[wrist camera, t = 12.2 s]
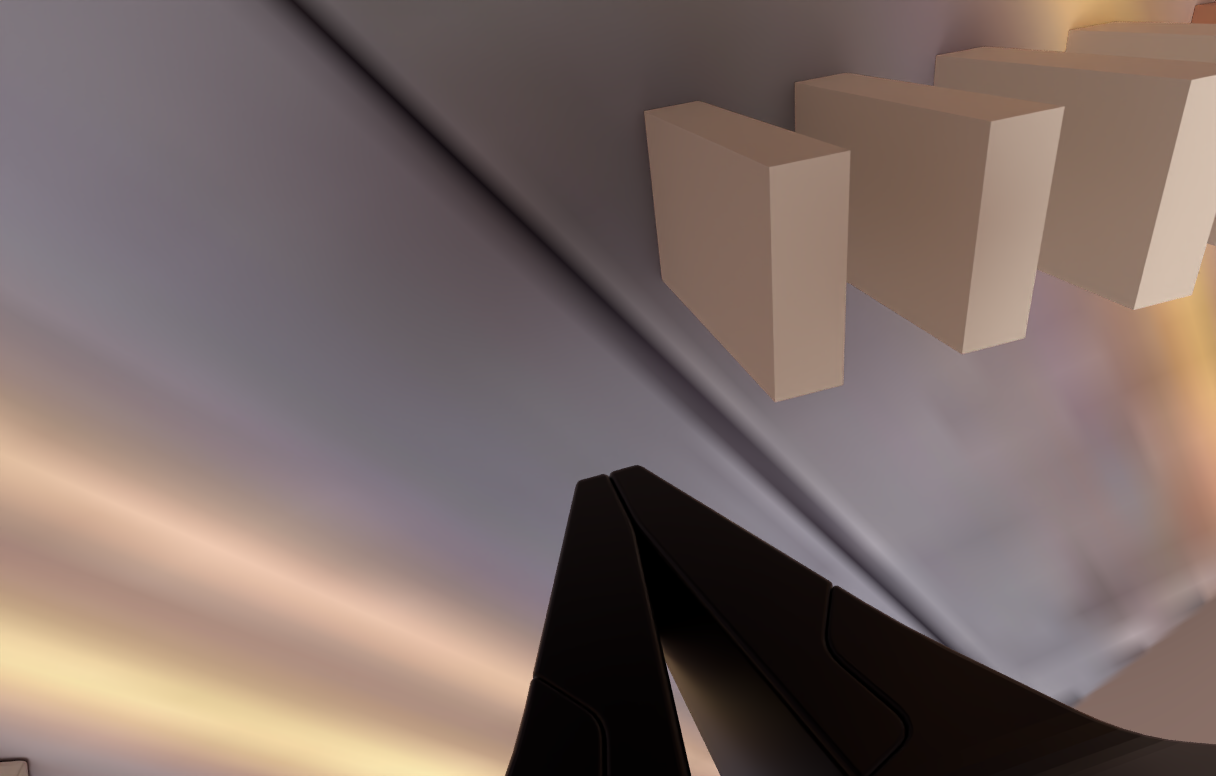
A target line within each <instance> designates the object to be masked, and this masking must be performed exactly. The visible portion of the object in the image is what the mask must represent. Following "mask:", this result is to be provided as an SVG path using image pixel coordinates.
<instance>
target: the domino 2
mask: <svg viewBox="0 0 1216 776" xmlns="http://www.w3.org/2000/svg"><path fill="white" fill-rule="evenodd" d="M1064 108H1065V106H1060V105H1053V104H1047V103H1040V102H1034V101H1027V100H1021V99H1014V98H1008V97H1001V96H995V95H988V94H982V93H975V92H969V91H962V90H956V89H949V88H943V87H936V86H930V85H923V84H917V83H910V82H904V81H897V80H891V79H884V78H878V77H871V76H865V75H858V74H852V73H841V74H836V75H831V76H826V77H820V78H815V79H810V80H805V81H799V82H795V132H796V133H799V134H802V135H805V136H808V137H811V138H814V139H817V140H820V141H823V142H826V143H829V144H832V145H835V146H838V147H842V148H845V149H848V150H851V151H850V183H849V215H848V247H847V279H846V282H848V283H850V284H851V285H853V286H854V287H856V288H857V289H859V290H861V291H862V292H864V293H865V294H867V295H869V296H870V297H872V298H873V299H875V300H877V301H878V302H880V303H881V304H883V305H884V306H886V307H888V308H889V309H891V310H892V311H894V312H896V313H897V314H899V315H900V316H902V317H904V318H905V319H907V320H908V321H910V322H911V323H913V324H915V325H916V326H918V327H919V328H921V329H923V330H924V331H926V332H927V333H929V334H931V335H932V336H934V337H935V338H937V339H939V340H940V341H942V342H943V343H945V344H946V345H948V346H950V347H951V348H953V349H954V350H956V351H958V352H959V353H961V354H965V353H969V352H973V351H977V350H981V349H985V348H988V347H992V346H996V345H1000V344H1004V343H1008V342H1012V341H1016V340H1019V339H1023V338H1025V334H1026V328H1027V322H1028V317H1029V311H1030V305H1031V299H1032V293H1033V288H1034V282H1035V276H1036V270H1037V264H1038V259H1039V253H1040V247H1041V241H1042V235H1043V230H1044V224H1045V218H1046V212H1047V206H1048V201H1049V195H1050V189H1051V183H1052V177H1053V172H1054V166H1055V160H1056V154H1057V148H1058V143H1059V137H1060V131H1061V125H1062V119H1063V114H1064Z"/></svg>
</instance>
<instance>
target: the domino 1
mask: <svg viewBox="0 0 1216 776" xmlns="http://www.w3.org/2000/svg"><path fill="white" fill-rule="evenodd" d="M644 117H645V126H646V135H647V145H648V154H649V163H650V173H651V182H652V191H653V201H654V210H655V220H656V229H657V238H658V248H659V257H660V266H661V276H662V280H663V282H664V283H665V284H666V285H667V286H668V287H669V288H670V289H671V290H672V291H673V292H674V293H675V295H676V296H677V297H678V298H679V299H680V300H681V301H682V302H683V303H684V304H685V305H686V306H687V308H688V309H689V310H690V311H691V312H692V313H693V314H694V315H695V316H696V317H697V318H698V319H699V321H700V322H701V323H702V324H703V325H704V326H705V327H706V328H707V329H708V330H709V331H710V332H711V334H712V335H713V336H714V337H715V338H716V339H717V340H718V341H719V342H720V343H721V344H722V345H723V347H724V348H725V349H726V350H727V351H728V352H729V353H730V354H731V355H732V356H733V357H734V358H735V360H736V361H737V362H738V363H739V364H740V365H741V366H742V367H743V368H744V369H745V370H746V371H747V373H748V374H749V375H750V376H751V377H752V378H753V379H754V380H755V381H756V382H757V383H758V384H759V386H760V387H761V388H762V389H763V390H764V391H765V392H766V393H767V394H768V395H769V396H770V397H771V399H772V400H773V401H774V402H779V401H782V400H786V399H790V398H794V397H798V396H802V395H806V394H810V393H814V392H817V391H821V390H825V389H829V388H833V387H837V386H841V385H843V375H844V343H845V311H846V279H847V247H848V215H849V183H850V151H851V150H848V149H845V148H842V147H838V146H835V145H832V144H829V143H826V142H823V141H820V140H817V139H814V138H811V137H808V136H805V135H802V134H799V133H796V132H793V131H790V130H787V129H784V128H781V127H777V126H774V125H771V124H768V123H765V122H762V121H759V120H756V119H753V118H750V117H747V116H744V115H741V114H738V113H735V112H732V111H729V110H726V109H723V108H720V107H716V106H713V105H710V104H707V103H704V102H701V101H694V102H689V103H684V104H678V105H673V106H668V107H662V108H657V109H652V110H647V111H644Z"/></svg>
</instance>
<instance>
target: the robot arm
mask: <svg viewBox="0 0 1216 776" xmlns="http://www.w3.org/2000/svg"><path fill="white" fill-rule="evenodd" d="M665 661H666V662H665ZM666 663H667V666H668V668H669V670H670V672H671V674H672V676H673V678H674V680H675V682H676V684H677V686H678V688H679V690H680V693H681V695H682V697H683V699H684V701H685V703H686V705H687V707H688V709H689V711H690V713H691V715H692V717H693V719H694V722H695V724H696V726H697V728H698V730H699V732H700V734H701V736H702V738H703V740H704V742H705V744H706V746H707V749H708V751H709V753H710V755H711V757H712V759H713V761H714V763H715V765H716V767H717V769H718V771H719V773H720V775H721V776H1216V744H1205V743H1193V742H1183V741H1174V740H1167V739H1162V738H1157V737H1152V736H1147V735H1143V734H1140V733H1137V732H1133V731H1129V730H1126V729H1123V728H1120V727H1117V726H1114V725H1111V724H1109V723H1106V722H1103V721H1101V720H1098V719H1096V718H1094V717H1091V716H1089V715H1087V714H1085V713H1082V712H1080V711H1078V710H1076V709H1074V708H1072V707H1070V706H1067V705H1065V704H1063V703H1061V702H1059V701H1057V700H1055V699H1053V698H1051V697H1049V696H1047V695H1045V694H1043V693H1041V692H1039V691H1037V690H1035V689H1032V688H1030V687H1028V686H1026V685H1024V684H1022V683H1020V682H1018V681H1016V680H1014V679H1012V678H1010V677H1008V676H1006V675H1004V674H1002V673H1000V672H997V671H995V670H993V669H991V668H989V667H987V666H985V665H983V664H981V663H979V662H977V661H975V660H973V659H971V658H969V657H967V656H965V655H962V654H960V653H958V652H956V651H954V650H952V649H950V648H948V647H946V646H944V645H942V644H941V643H939V642H937V641H935V640H933V639H931V638H929V637H927V636H925V635H923V634H921V633H919V632H917V631H915V630H913V629H911V628H909V627H907V626H905V625H904V624H902V623H900V622H898V621H897V620H895V619H893V618H891V617H890V616H888V615H886V614H884V613H883V612H881V611H879V610H878V609H876V608H874V607H872V606H871V605H869V604H867V603H865V602H864V601H862V600H860V599H859V598H857V597H855V596H854V595H852V594H850V593H849V592H847V591H846V590H844V589H842V588H841V587H839V586H834V587H833V585H832V583H831V582H830V581H829V580H827V579H825V578H824V577H822V576H820V575H819V574H817V573H816V572H814V571H812V570H811V569H809V568H807V567H806V566H804V565H802V564H801V563H799V562H798V561H796V560H794V559H793V558H791V557H789V556H788V555H786V554H784V553H783V552H781V551H780V550H778V549H776V548H775V547H773V546H771V545H770V544H768V543H766V542H765V541H763V540H762V539H760V538H758V537H757V536H755V535H753V534H752V533H750V532H748V531H747V530H745V529H744V528H742V527H740V526H739V525H737V524H735V523H734V522H732V521H730V520H729V519H727V518H726V517H724V516H722V515H721V514H719V513H717V512H716V511H714V510H712V509H711V508H709V507H708V506H706V505H704V504H703V503H701V502H699V501H698V500H696V499H694V498H693V497H691V496H690V495H688V494H686V493H685V492H683V491H681V490H680V489H678V488H676V487H675V486H673V485H672V484H670V483H668V482H667V481H665V480H663V479H662V478H660V477H658V476H657V475H655V474H654V473H652V472H650V471H649V470H647V469H645V468H644V467H642V466H639V465H635V466H631V467H627V468H623V469H620V470H616V471H613V472H611V474H610V476H609V477H608V476H607V475H605V474H601V475H598V476H594V477H590V478H587V479H583V480H580V481H578V482H577V484H576V487H575V491H574V496H573V500H572V504H571V509H570V513H569V518H568V522H567V526H566V531H565V535H564V540H563V544H562V548H561V553H560V557H559V562H558V566H557V570H556V575H555V579H554V584H553V588H552V592H551V597H550V601H549V605H548V610H547V614H546V619H545V623H544V627H543V632H542V636H541V641H540V645H539V649H538V654H537V658H536V663H535V667H534V671H533V679H532V681H531V683H530V687H529V692H528V696H527V701H526V705H525V709H524V713H523V717H522V720H521V724H520V728H519V732H518V735H517V739H516V743H515V747H514V750H513V754H512V757H511V760H510V763H509V766H508V768H507V771H506V774H505V776H691V773H690V768H689V764H688V759H687V755H686V750H685V746H684V742H683V737H682V733H681V728H680V724H679V719H678V715H677V711H676V706H675V702H674V697H673V693H672V688H671V684H670V679H669V675H668V671H667V666H666Z"/></svg>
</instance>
